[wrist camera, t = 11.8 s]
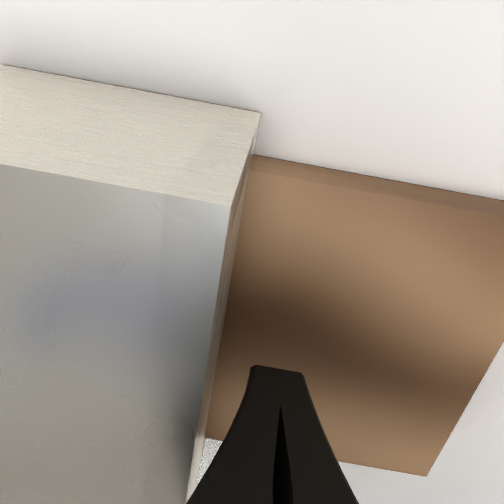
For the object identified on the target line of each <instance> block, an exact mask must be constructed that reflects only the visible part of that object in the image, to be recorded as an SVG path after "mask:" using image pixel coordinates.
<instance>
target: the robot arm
mask: <svg viewBox="0 0 504 504" xmlns="http://www.w3.org/2000/svg"><path fill="white" fill-rule="evenodd" d="M186 504H359V503H358V501H357V499H356V497H355V495H354V494H353V492H352V490H351V488H350V486H349V484H348V482H347V480H346V478H345V476H344V474H343V472H342V470H341V468H340V466H339V464H338V461H337V459H336V457H335V455H334V453H333V450H332V448H331V446H330V444H329V441H328V439H327V437H326V435H325V432H324V430H323V428H322V425H321V423H320V420H319V418H318V415H317V412H316V410H315V407H314V405H313V402H312V399H311V396H310V393H309V390H308V387H307V384H306V381H305V377H304V376H303V374H302V373H300V372H295V371H289V370H284V369H278V368H273V367H267V366H261V365H254V366H252V367H251V368H250V372H249V377H248V381H247V386H246V390H245V393H244V396H243V399H242V401H241V404H240V407H239V409H238V411H237V413H236V415H235V418H234V420H233V422H232V424H231V426H230V429H229V431H228V433H227V435H226V437H225V439H224V440H223V442H222V444H221V446H220V448H219V449H218V451H217V453H216V455H215V457H214V459H213V460H212V462H211V464H210V466H209V468H208V469H207V471H206V473H205V474H204V476H203V478H202V479H201V481H200V482H199V484H198V486H197V487H196V489H195V490H194V492H193V493H192V495H191V497H190V498H189V500H188V501H187V503H186Z"/></svg>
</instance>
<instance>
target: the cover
mask: <svg viewBox="0 0 504 504" xmlns="http://www.w3.org/2000/svg"><path fill="white" fill-rule="evenodd" d="M260 115H261V113H259V112H254V111H249V110H243V109H238V108H232V107H227V106H222V105H216V104H211V103H206V102H200V101H195V100H189V99H184V98H179V97H173V96H168V95H162V94H157V93H152V92H146V91H141V90H136V89H130V88H125V87H119V86H114V85H109V84H103V83H98V82H93V81H87V80H82V79H76V78H71V77H66V76H60V75H55V74H50V73H44V72H39V71H33V70H28V69H23V68H17V67H12V66H6V65H1V64H0V504H186V503H187V501H188V500H189V498H190V497H191V495H192V493H193V492H194V490H195V488H196V483H197V478H198V473H199V468H200V463H201V458H202V453H203V448H204V443H205V438H204V437H205V431H206V425H207V419H208V413H209V407H210V401H211V395H212V389H213V383H214V377H215V371H216V365H217V359H218V353H219V347H220V341H221V335H222V329H223V323H224V317H225V311H226V305H227V299H228V293H229V287H230V281H231V275H232V269H233V263H234V257H235V251H236V245H237V240H238V234H239V228H240V222H241V216H242V210H243V204H244V198H245V192H246V186H247V180H248V174H249V168H250V162H251V158H252V155H253V151H254V148H255V144H256V139H257V133H258V127H259V121H260Z"/></svg>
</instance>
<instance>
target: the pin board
mask: <svg viewBox="0 0 504 504" xmlns="http://www.w3.org/2000/svg"><path fill="white" fill-rule="evenodd" d="M503 341H504V201H501V200H496V199H491V198H485V197H480V196H474V195H469V194H463V193H458V192H453V191H447V190H442V189H436V188H431V187H426V186H420V185H415V184H409V183H404V182H398V181H393V180H388V179H382V178H377V177H371V176H366V175H361V174H355V173H350V172H344V171H339V170H333V169H328V168H323V167H317V166H312V165H306V164H301V163H296V162H290V161H285V160H279V159H274V158H268V157H263V156H258V155H252V158H251V162H250V168H249V174H248V180H247V186H246V192H245V198H244V204H243V210H242V216H241V222H240V228H239V234H238V240H237V245H236V251H235V257H234V263H233V269H232V275H231V281H230V287H229V293H228V299H227V305H226V311H225V317H224V323H223V329H222V335H221V341H220V347H219V353H218V359H217V365H216V371H215V377H214V383H213V389H212V395H211V401H210V407H209V413H208V419H207V425H206V431H205V437H204V438H210V439H216V440H221V441H223V440H224V439H225V437H226V435H227V433H228V431H229V429H230V426H231V424H232V422H233V420H234V418H235V415H236V413H237V411H238V409H239V407H240V404H241V401H242V399H243V396H244V393H245V390H246V386H247V381H248V377H249V372H250V368H251V367H252V366H254V365H261V366H267V367H273V368H278V369H284V370H289V371H295V372H300V373H302V374H303V376H304V377H305V381H306V384H307V387H308V390H309V393H310V396H311V399H312V402H313V405H314V407H315V410H316V412H317V415H318V418H319V420H320V423H321V425H322V428H323V430H324V432H325V435H326V437H327V439H328V441H329V444H330V446H331V448H332V450H333V453H334V455H335V457H336V459H337V461H340V462H346V463H352V464H357V465H363V466H369V467H374V468H380V469H386V470H391V471H397V472H403V473H408V474H414V475H420V476H425V477H426V476H427V474H428V473H429V471H430V469H431V467H432V466H433V464H434V462H435V460H436V459H437V457H438V455H439V453H440V452H441V450H442V448H443V446H444V445H445V443H446V441H447V439H448V438H449V436H450V434H451V432H452V431H453V429H454V427H455V425H456V424H457V422H458V420H459V418H460V417H461V415H462V413H463V411H464V410H465V408H466V406H467V404H468V403H469V401H470V399H471V397H472V396H473V394H474V392H475V390H476V389H477V387H478V385H479V383H480V382H481V380H482V378H483V376H484V375H485V373H486V371H487V369H488V368H489V366H490V364H491V362H492V361H493V359H494V357H495V355H496V354H497V352H498V350H499V348H500V347H501V345H502V343H503Z"/></svg>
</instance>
